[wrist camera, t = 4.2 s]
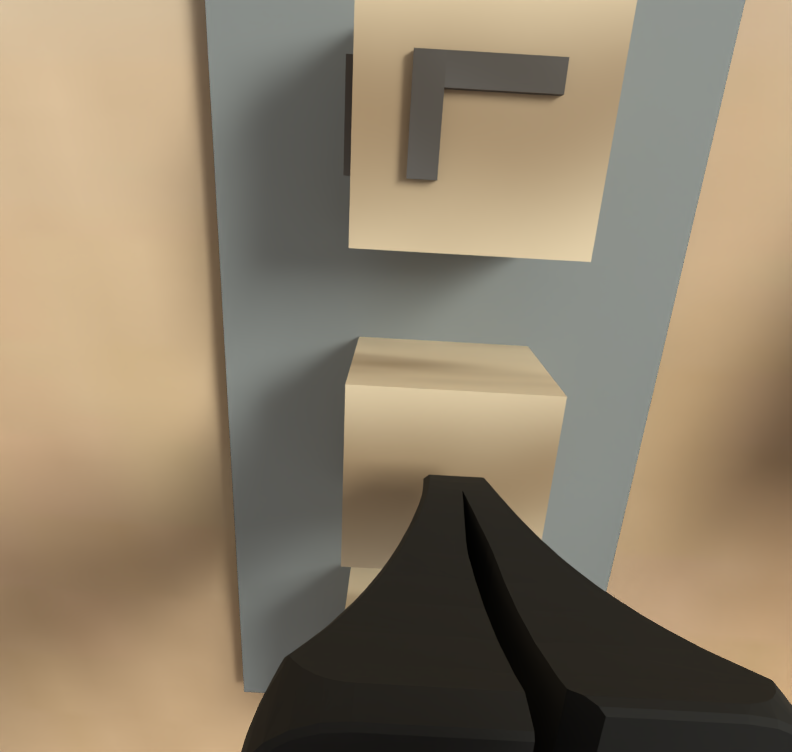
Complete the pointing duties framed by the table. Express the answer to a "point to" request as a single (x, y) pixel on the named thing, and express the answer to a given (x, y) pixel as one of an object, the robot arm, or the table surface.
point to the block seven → (482, 124)
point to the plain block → (442, 434)
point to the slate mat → (428, 293)
